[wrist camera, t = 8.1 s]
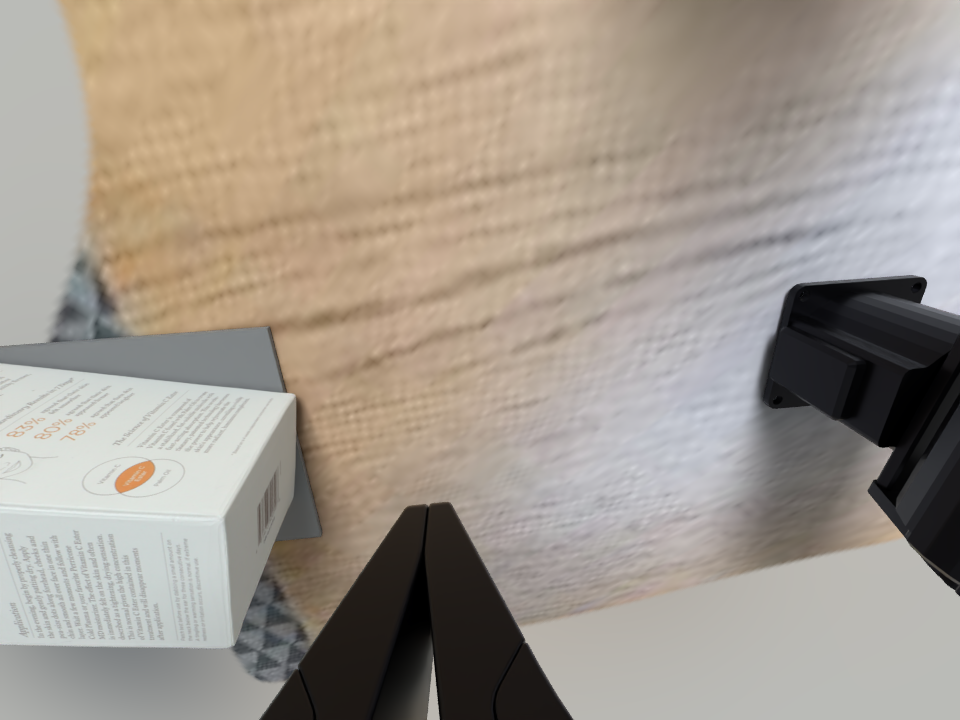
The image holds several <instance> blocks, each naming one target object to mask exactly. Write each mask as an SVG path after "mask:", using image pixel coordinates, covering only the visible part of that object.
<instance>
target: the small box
mask: <svg viewBox="0 0 960 720" xmlns="http://www.w3.org/2000/svg"><path fill="white" fill-rule="evenodd" d="M295 466H296V395H295V394H291V393H280V392H269V391H260V390H250V389H242V388H230V387H219V386H209V385H200V384H190V383H181V382H171V381H162V380H153V379H144V378H135V377H126V376H116V375H107V374H98V373H89V372H79V371H70V370H60V369H50V368H41V367H31V366H22V365H12V364H3V363H0V645H33V646H34V645H37V646H39V645H40V646H81V647H149V648H150V647H151V648H201V649H225V648H230V647H231V646H234V645H235V643H236V641H237V639H238V636H239V634H240V631H241V627H242V624H243V621H244V618H245V616H246V613H247V610H248V608H249V605H250V603H251V600H252V598H253V595H254V593H255V590H256V588H257V585H258V583H259V580H260V578H261V575H262V573H263V570H264V568H265V565H266V562H267V560H268V557H269V555H270V552H271V550H272V547H273V545H274V542H275V539H276V537H277V534H278V532H279V529H280V527H281V524H282V522H283V520H284V517H285V515H286V513H287V510H288V508H289V506H290V504H291V502H292V500H293V497H294V484H295Z"/></svg>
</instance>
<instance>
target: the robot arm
mask: <svg viewBox="0 0 960 720" xmlns="http://www.w3.org/2000/svg"><path fill="white" fill-rule="evenodd" d="M912 286H913V287H912ZM926 286H927V281H926V279H925V278H923V277H919V276H914V275H908V276H894V277H881V278H867V279H853V280H840V281H826V282H812V283H800V284H797V285H795V286H794V287H793V288H792V289H791V290H790V292H789V294H788V298H787V302H786V306H785V310H784V314H783V318H782V323H781V327H780V331H779V335H778V339H777V343H776V347H775V351H774V356H773V360H772V364H771V368H770V372H769V376H768V380H767V384H766V388H765V393H764V397H763V401H764V403H765V404H767V405H768V406H769V407H771V408H773V409H778V408H789V407H800V406H813V407H814V408H816V409H817V410H819V411H820V412H822V413H823V414H825V415H827V416H828V417H830V418H831V419H833V420H838V421H840V422H842V423H843V424H845V425H846V426H848V427H849V428H851V429H852V430H854V431H855V432H857V433H858V434H860V435H862V436H863V437H865V438H866V439H868V440H869V441H871V442H872V443H874V444H875V445H877V446H879V447H882V448H885V447H889V448H891V449H892V450H893V452H892V454H891V456H890V458H889V459H888V461H887V463H886V465H885V466H884V468H883V470H882V472H881V474H880V475H879V477H878V479H877V480H873V482H872V484H871V486H870V487H869V489H868V493H869V494H870V495H871V496H872V498H873V499H874V500H875V501H876V503H877V504H878V505H879V506H880V507H881V509H882V510H883V511H884V512H885V514H886V515H887V516H888V517H889V518H890V520H891V521H892V522H893V523H894V524H895V526H896V527H897V528H898V529H899V531H900V532H901V533H902V534H903V535H904V537H905V538H906V540H907V541H908V543H909V544H910V546H911V547H912V548H913V549H914V550H915V551H916V552H917V553H918V554H919V555H920V556H921V557H922V558H923V560H924V561H925V562H926V563H927V565H928V566H929V567H931V569H932V570H933V571H934V572H935V573H936V574H937V575H938V576H940V578H941V579H942V580H943V581H944V582H945V583H946V584H947V585H948V586H950V587H951V588H953V589H954V590H955V592H956V593H957V594H958V595H959V596H960V316H959V315H956V314H953V313H949V312H946V311H943V310H939V309H936V308H932V307H929V306H926V305H922V304H920V303H921V300H922V297H923V295H924V292H925V289H926ZM802 292H804V294H803V296H802V297H801V298H800V295H801V293H802ZM775 397H777V398H776V399H775V400H774V398H775ZM433 656H434V665H435V676H436V686H437V696H438V705H439V716H440V720H573V718H572V717H571V715H570V714H569V712H568V711H567V709H566V708H565V706H564V705H563V703H562V702H561V700H560V699H559V697H558V696H557V694H556V692H555V691H554V689H553V687H552V685H551V684H550V682H549V680H548V679H547V677H546V675H545V674H544V672H543V670H542V668H541V667H540V665H539V663H538V661H537V660H536V658H535V656H534V654H533V652H532V650H531V649H530V647H529V645H528V644H527V643H525V638H524V637H523V634H522V633H521V631H520V629H519V627H518V625H517V623H516V622H515V620H514V618H513V616H512V614H511V612H510V611H509V609H508V607H507V605H506V603H505V601H504V600H503V598H502V596H501V594H500V592H499V590H498V589H497V587H496V585H495V583H494V581H493V579H492V578H491V576H490V574H489V572H488V570H487V568H486V567H485V565H484V563H483V561H482V559H481V557H480V556H479V554H478V552H477V550H476V548H475V546H474V545H473V543H472V541H471V539H470V537H469V535H468V534H467V532H466V530H465V528H464V526H463V524H462V523H461V521H460V519H459V517H458V515H457V513H456V512H455V510H454V508H453V506H452V504H451V503H450V502H441V503H432V504H430V506H429V507H428V505H426V504H422V505H412V506H408V507H406V508H405V509H404V511H403V512H402V514H401V515H400V517H399V518H398V520H397V521H396V523H395V524H394V525H393V527H392V528H391V530H390V531H389V533H388V534H387V536H386V537H385V539H384V540H383V542H382V543H381V544H380V546H379V547H378V549H377V550H376V552H375V553H374V555H373V556H372V558H371V559H370V560H369V562H368V563H367V565H366V566H365V568H364V569H363V571H362V572H361V574H360V575H359V577H358V578H357V579H356V581H355V582H354V584H353V585H352V587H351V588H350V590H349V591H348V593H347V594H346V595H345V597H344V598H343V600H342V601H341V603H340V604H339V606H338V607H337V609H336V610H335V612H334V613H333V614H332V616H331V617H330V619H329V620H328V622H327V623H326V625H325V626H324V628H323V629H322V630H321V632H320V633H319V635H318V636H317V638H316V639H315V641H314V642H313V644H312V645H311V647H310V648H309V649H308V651H307V652H306V654H305V655H304V657H303V658H302V660H301V661H300V663H299V664H298V669H299V670H298V669H295V670H294V671H293V672H292V674H291V675H290V677H289V678H288V680H287V681H286V683H285V684H284V686H283V687H282V688H281V690H280V692H279V693H278V694H277V696H276V697H275V699H274V700H273V701H272V703H271V704H270V705H269V707H268V708H267V710H266V711H265V712H264V714H263V715H262V717H261V718H260V719H259V720H427V713H428V701H429V692H430V682H431V671H432V662H433Z"/></svg>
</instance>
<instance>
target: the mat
mask: <svg viewBox="0 0 960 720" xmlns="http://www.w3.org/2000/svg"><path fill="white" fill-rule="evenodd" d="M0 363H3V364H12V365H22V366H31V367H41V368H50V369H60V370H70V371H79V372H89V373H98V374H107V375H116V376H126V377H135V378H144V379H153V380H162V381H171V382H181V383H190V384H200V385H209V386H219V387H230V388H242V389H250V390H260V391H269V392H280V393H286V389H285V385H284V381H283V377H282V373H281V370H280V366H279V362H278V358H277V354H276V350H275V346H274V342H273V338H272V335H271V331H270V327H269V326H268V327H255V328H241V329H228V330H214V331H201V332H187V333H173V334H160V335H146V336H133V337H119V338H106V339H92V340H79V341H65V342H52V343H38V344H26V345H12V346H0ZM321 535H322V529H321V525H320V521H319V518H318V514H317V510H316V506H315V502H314V498H313V494H312V490H311V486H310V482H309V479H308V475H307V471H306V467H305V463H304V459H303V455H302V451H301V447H300V444H299V440H298V436H297V432H296V466H295V484H294V497H293V500H292V502H291V504H290V506H289V508H288V510H287V513H286V515H285V517H284V520H283V522H282V524H281V527H280V529H279V532H278V534H277V537H276V539H275V541H283V540H293V539H303V538H313V537H321Z"/></svg>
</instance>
